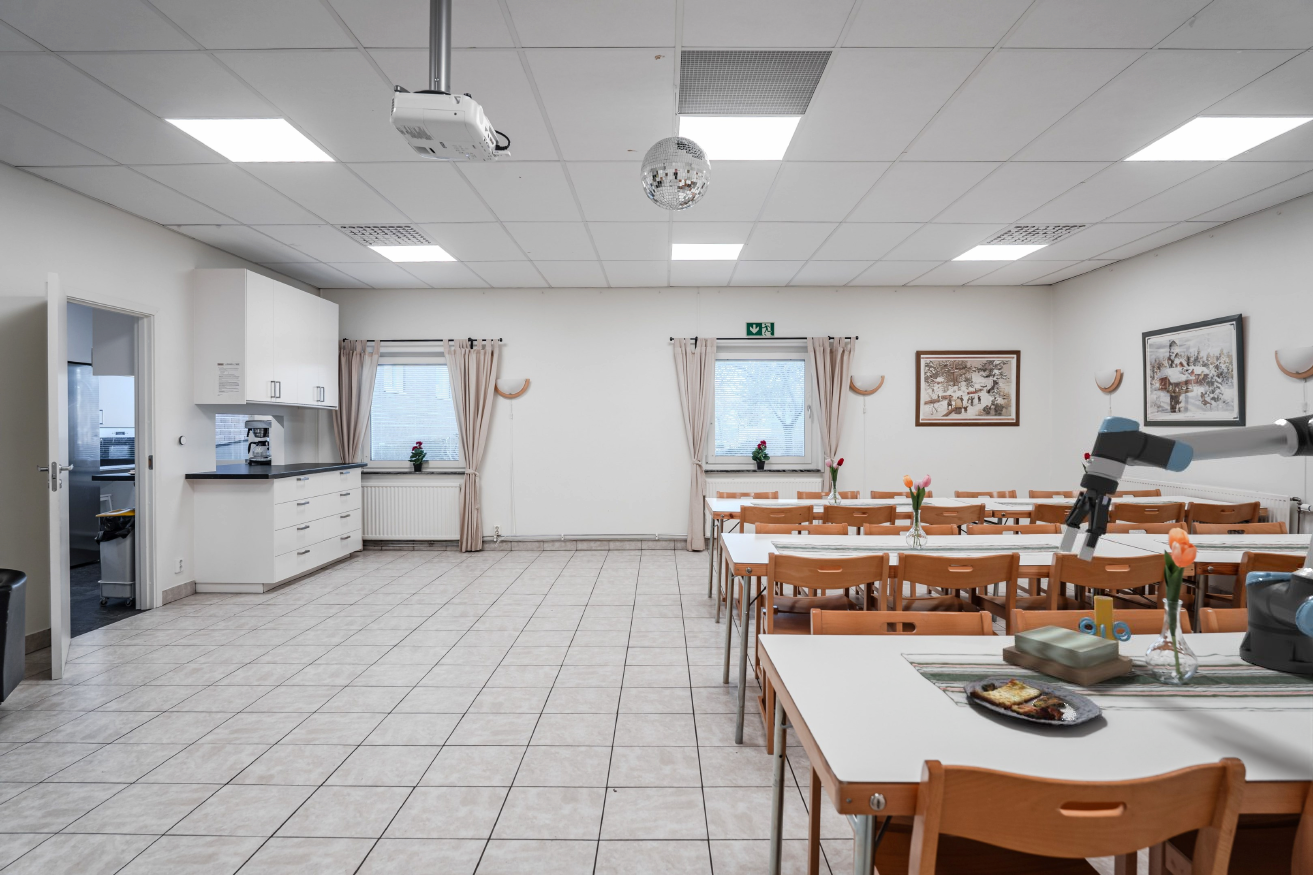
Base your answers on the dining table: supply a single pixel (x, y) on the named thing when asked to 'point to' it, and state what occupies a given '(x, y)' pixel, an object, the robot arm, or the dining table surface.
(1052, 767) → the dining table surface
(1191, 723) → the dining table surface
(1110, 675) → the plinth
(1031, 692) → the food plate
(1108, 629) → the upright yellow plank
